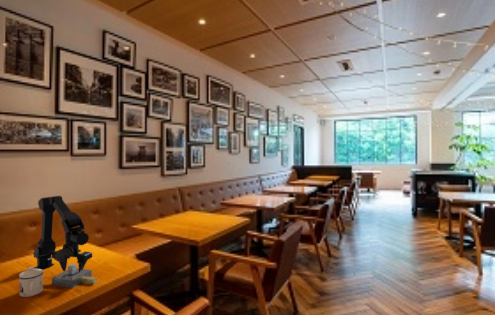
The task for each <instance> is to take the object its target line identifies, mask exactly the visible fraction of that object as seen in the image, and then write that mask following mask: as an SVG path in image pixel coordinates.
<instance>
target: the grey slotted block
mask: <svg viewBox="0 0 495 315" xmlns="http://www.w3.org/2000/svg"><path fill="white" fill-rule="evenodd" d="M92 272H93V270H92V269H86V268H83V270H82V272H81V273H79V267H78V268H77V274H76V275H74V276H68V269H66V270H65V271H62V272H61V273H58V274H57V275H55V276H53V277H52V278H51V285H52V286H56V287H65V288H71V289H74V288H76V287H77V286H79V285H80V284H85V285H95V284H97V283H98V277H96V276H95V277H94V276H92V274H93V273H92Z"/></svg>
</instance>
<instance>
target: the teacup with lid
mask: <svg viewBox="0 0 495 315" xmlns="http://www.w3.org/2000/svg"><path fill="white" fill-rule="evenodd" d="M18 279H19V281H18V282H19V285H18V286H19V290H18V291H19V296H20V297H23V298H28V297H33V296H36V295H38V294H40V293H42V292H43V290H44V269H38V268H35V266H29V267H28V268H27V269H26V270H24V271H22V272H20V273H19V275H18Z"/></svg>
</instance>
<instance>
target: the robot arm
mask: <svg viewBox="0 0 495 315" xmlns="http://www.w3.org/2000/svg"><path fill="white" fill-rule="evenodd" d="M37 204H38V209H39V210H40V212H41V213H42V214H41V215H42V217H41V232H40V233H41V236H40V239H39V240H38V242H37V243H36V248H35V249H34V251H33V254H32V255H33V257H34V258H35V259H36V261H37V262H36V264H37V265H36V266H34V268H35V269H42V270H45V269H46V270H47V269H48V268H50V267H52V266H54V265H55V263H53V260H54V261H56V262H58V263H59V265H60V267H61V269H62V272H64V271H66V270H67V267H68V260H69V259H70V258H76V260H77V261H76V263H77V264H78V269H79V273H81V272H82V270H83V269H85V268H84V267H86V263H87V262H88V261H89V260H91V258H93V253H92V252H91V251H83V252H82V249H80V246H84V245H86V244H87V243H88V242H89V240H90V239H89V238H90V236H89V235H88V234H87V232H86V233H85V223H84V221H83V219H82V218H81V217H80V216H79V214H78V213H77V212H73V211H72V210H71V208H69V206H68V205H67V204H66V202H65V201H64V200H63V196H61V195H54V196H46V197H41V198H40V199H39V200H38V203H37ZM55 212H56V213H58V215H59V216H60V218H61V222H60V223H61V226H62V227H63V232H64V241H65V242H64V243H63V245H62V247H61V248H59V249H58V250H56V249H57V248H56V247H57V245H56V244H57V243H56V242H55V240H54V239H53V223H54V222H53V221H54V213H55Z"/></svg>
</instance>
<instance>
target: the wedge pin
mask: <svg viewBox="0 0 495 315" xmlns="http://www.w3.org/2000/svg"><path fill="white" fill-rule="evenodd" d="M67 270H68V276H74V275H76V274H77V264H76V263H71V264H69V265H67Z"/></svg>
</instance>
